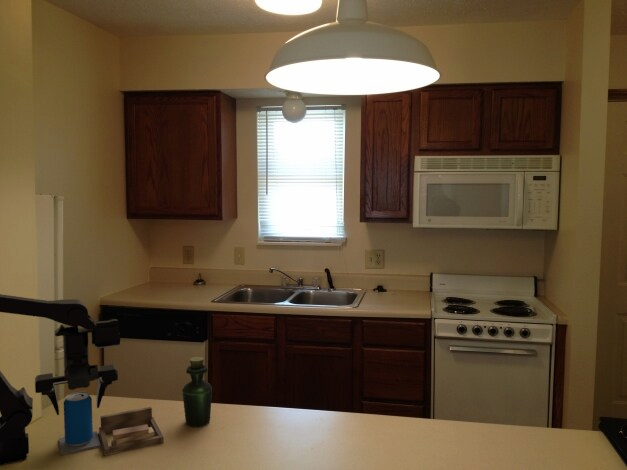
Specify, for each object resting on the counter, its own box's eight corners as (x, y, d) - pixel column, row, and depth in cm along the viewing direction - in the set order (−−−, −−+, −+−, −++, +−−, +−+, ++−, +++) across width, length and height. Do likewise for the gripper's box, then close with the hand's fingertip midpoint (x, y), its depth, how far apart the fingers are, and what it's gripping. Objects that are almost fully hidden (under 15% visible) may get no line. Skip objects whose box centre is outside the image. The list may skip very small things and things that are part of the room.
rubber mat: (60, 455, 126) (60, 453, 126) (59, 440, 134) (59, 438, 134) (100, 446, 130) (100, 445, 130) (96, 432, 138) (96, 430, 138)
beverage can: (97, 436, 135) (96, 391, 134) (84, 448, 128) (82, 401, 127) (74, 435, 135) (72, 390, 134) (59, 447, 129) (57, 400, 128)
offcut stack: (113, 451, 128) (112, 436, 127) (111, 445, 131) (110, 430, 131) (155, 442, 132) (154, 427, 132) (152, 436, 136) (151, 422, 135)
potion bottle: (206, 429, 140) (205, 364, 138) (178, 427, 141) (176, 362, 140) (216, 417, 148) (215, 355, 146) (189, 415, 149) (188, 353, 148)
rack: (105, 455, 126) (104, 437, 125) (99, 432, 138) (98, 416, 137) (163, 442, 132) (163, 425, 132) (153, 422, 144) (152, 406, 144)
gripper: (33, 365, 119) (36, 431, 120) (120, 353, 127) (121, 415, 129) (34, 352, 128) (36, 413, 130) (114, 342, 137) (115, 400, 138)
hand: (78, 411), depth 131 cm, fingers open, 9 cm apart
